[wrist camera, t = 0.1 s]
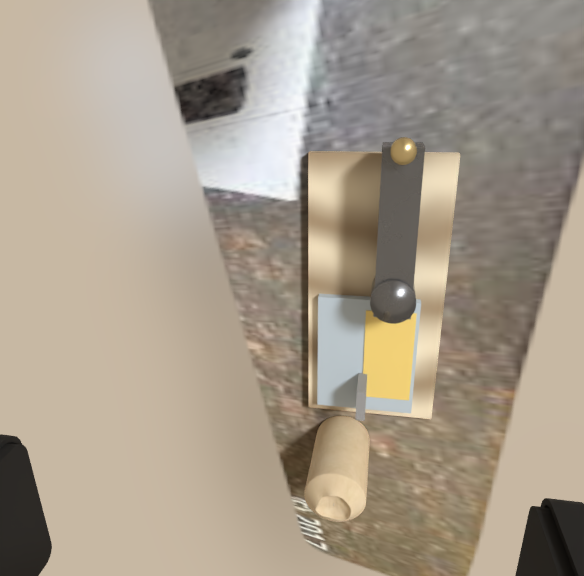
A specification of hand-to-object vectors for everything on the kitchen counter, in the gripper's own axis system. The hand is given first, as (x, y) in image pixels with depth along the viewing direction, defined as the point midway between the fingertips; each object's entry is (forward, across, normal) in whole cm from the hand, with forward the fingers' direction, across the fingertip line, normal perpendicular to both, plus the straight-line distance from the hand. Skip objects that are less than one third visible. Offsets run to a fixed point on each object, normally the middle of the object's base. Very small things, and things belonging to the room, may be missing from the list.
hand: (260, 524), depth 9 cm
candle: (+37, +1, +27) cm, 46 cm away
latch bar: (+34, -3, +3) cm, 35 cm away
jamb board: (+37, -2, +10) cm, 38 cm away
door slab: (+36, -1, +16) cm, 39 cm away
